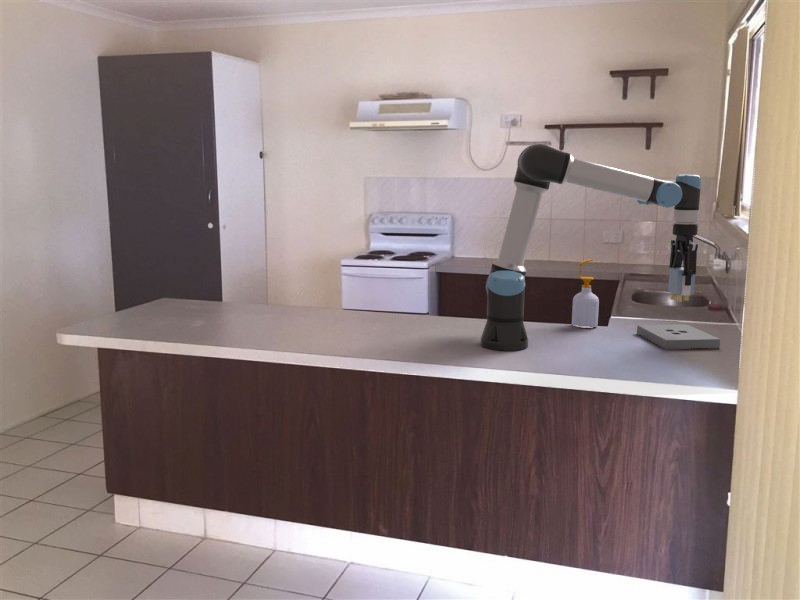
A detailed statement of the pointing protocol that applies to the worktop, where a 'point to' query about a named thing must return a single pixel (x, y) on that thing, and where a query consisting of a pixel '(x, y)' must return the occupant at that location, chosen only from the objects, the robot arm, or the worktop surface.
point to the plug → (678, 284)
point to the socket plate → (678, 336)
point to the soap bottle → (585, 304)
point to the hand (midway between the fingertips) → (680, 293)
